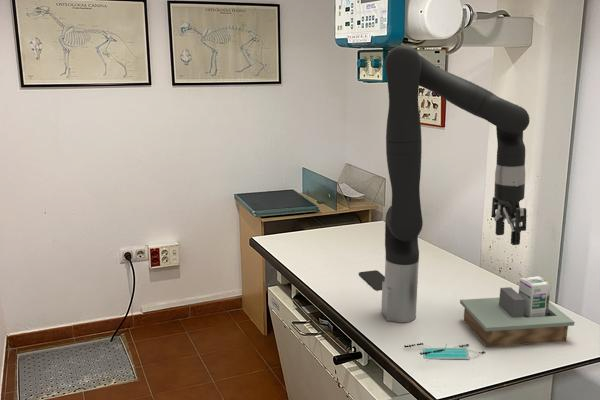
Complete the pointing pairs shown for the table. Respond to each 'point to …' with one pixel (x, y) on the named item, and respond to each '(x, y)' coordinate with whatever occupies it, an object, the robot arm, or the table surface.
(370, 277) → the phone
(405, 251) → the robot arm
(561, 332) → the wooden frame
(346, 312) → the table surface
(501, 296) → the lid
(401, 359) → the table surface
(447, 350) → the surgical mask
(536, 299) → the syrup box
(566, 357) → the table surface
